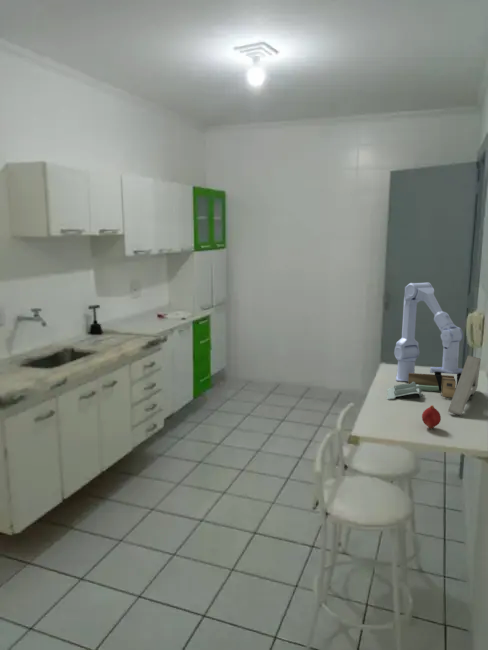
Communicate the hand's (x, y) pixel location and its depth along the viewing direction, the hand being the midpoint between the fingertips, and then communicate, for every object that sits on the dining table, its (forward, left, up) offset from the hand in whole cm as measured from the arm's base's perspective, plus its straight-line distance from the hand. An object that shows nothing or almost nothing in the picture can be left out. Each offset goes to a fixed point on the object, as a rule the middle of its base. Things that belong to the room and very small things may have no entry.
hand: (448, 391), depth 203 cm
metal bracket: (+5, -17, -2) cm, 18 cm away
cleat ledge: (-7, -6, -2) cm, 9 cm away
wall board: (-11, -6, -2) cm, 13 cm away
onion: (+41, -9, -2) cm, 42 cm away
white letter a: (+8, +4, -2) cm, 9 cm away
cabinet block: (0, 0, -2) cm, 2 cm away
